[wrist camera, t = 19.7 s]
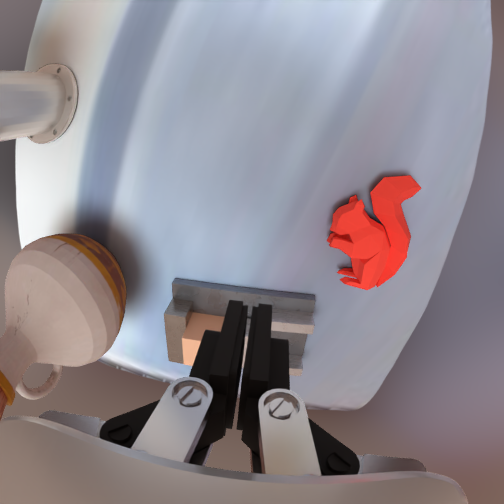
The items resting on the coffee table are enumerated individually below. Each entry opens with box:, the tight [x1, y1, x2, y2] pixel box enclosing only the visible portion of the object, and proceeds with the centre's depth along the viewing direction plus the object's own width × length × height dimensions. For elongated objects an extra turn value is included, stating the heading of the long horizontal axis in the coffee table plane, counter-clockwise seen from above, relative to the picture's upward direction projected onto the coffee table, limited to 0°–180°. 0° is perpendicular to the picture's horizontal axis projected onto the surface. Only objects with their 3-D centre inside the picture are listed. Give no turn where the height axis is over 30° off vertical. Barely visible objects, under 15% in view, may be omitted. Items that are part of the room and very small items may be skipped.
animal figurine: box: [327, 176, 421, 290], centre depth 35 cm, size 12×15×5 cm
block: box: [182, 312, 224, 366], centre depth 41 cm, size 5×5×6 cm
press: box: [164, 278, 315, 376], centre depth 42 cm, size 20×14×6 cm
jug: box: [0, 234, 126, 420], centre depth 30 cm, size 20×18×30 cm
